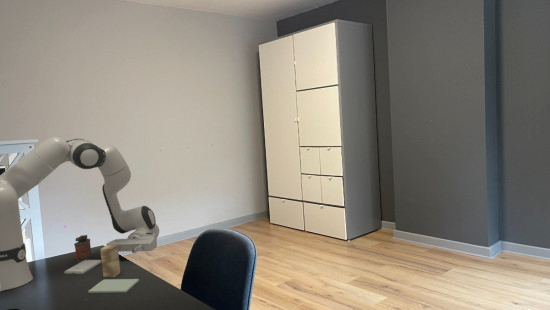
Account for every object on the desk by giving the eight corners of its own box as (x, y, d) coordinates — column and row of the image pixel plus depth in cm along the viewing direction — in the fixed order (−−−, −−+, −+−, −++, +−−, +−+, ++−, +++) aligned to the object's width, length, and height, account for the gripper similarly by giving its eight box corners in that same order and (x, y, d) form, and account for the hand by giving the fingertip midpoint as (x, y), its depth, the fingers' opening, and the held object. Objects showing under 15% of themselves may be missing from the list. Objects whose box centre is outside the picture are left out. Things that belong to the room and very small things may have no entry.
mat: (88, 292, 144) (88, 291, 144) (103, 281, 154) (103, 279, 154) (126, 292, 143) (126, 290, 142) (139, 280, 152) (139, 279, 152)
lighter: (87, 254, 187) (85, 233, 186) (93, 254, 186) (91, 233, 185) (74, 260, 180) (71, 238, 179) (80, 261, 179) (77, 238, 178)
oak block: (103, 277, 158) (100, 249, 157) (109, 272, 163) (106, 245, 162) (114, 277, 158) (111, 248, 157) (120, 272, 162) (117, 245, 161)
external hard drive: (101, 263, 176) (82, 275, 164) (84, 263, 177) (64, 274, 165) (101, 260, 176) (82, 271, 163) (84, 259, 177) (64, 270, 165)
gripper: (115, 234, 184) (98, 244, 171) (159, 233, 182) (145, 243, 168) (116, 248, 185) (99, 259, 171) (160, 247, 182) (146, 258, 168)
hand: (122, 251), depth 169 cm, fingers open, 8 cm apart
